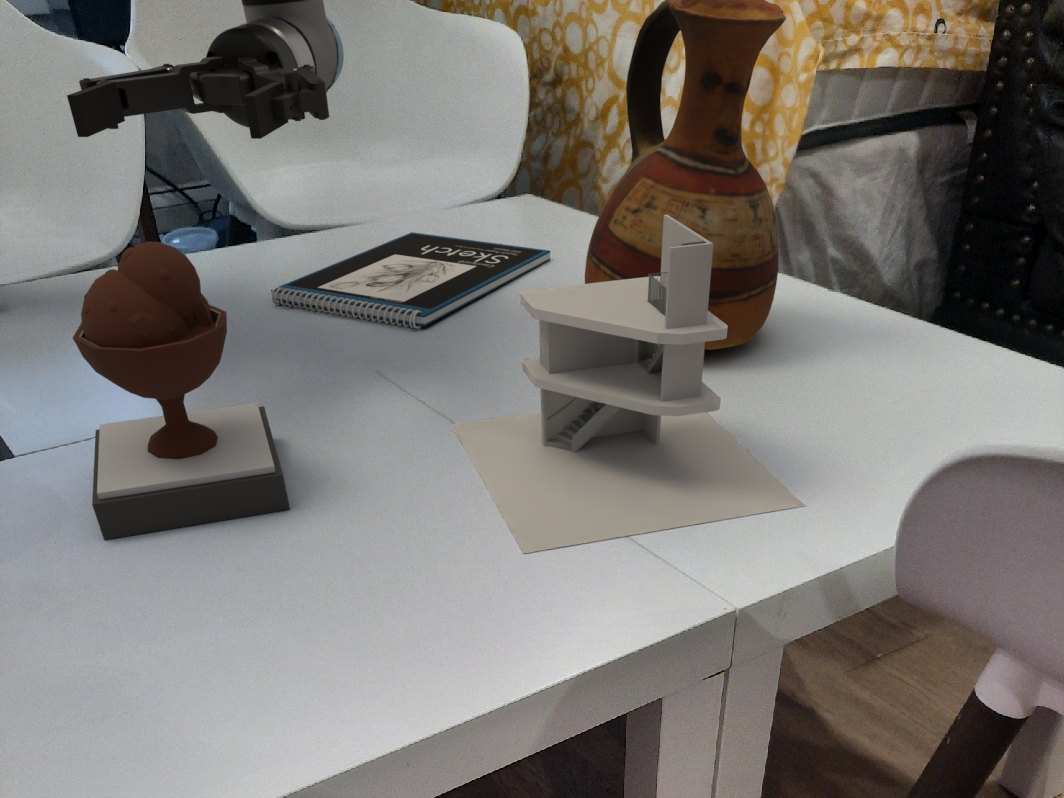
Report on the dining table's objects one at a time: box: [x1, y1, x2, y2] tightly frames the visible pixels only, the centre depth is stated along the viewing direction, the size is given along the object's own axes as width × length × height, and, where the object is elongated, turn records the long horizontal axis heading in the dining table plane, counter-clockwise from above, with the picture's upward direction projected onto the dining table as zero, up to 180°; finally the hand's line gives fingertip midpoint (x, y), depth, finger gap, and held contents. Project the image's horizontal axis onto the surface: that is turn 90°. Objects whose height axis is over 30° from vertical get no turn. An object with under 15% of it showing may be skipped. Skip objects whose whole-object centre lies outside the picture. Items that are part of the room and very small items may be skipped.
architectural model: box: [451, 215, 806, 554], centre depth 79 cm, size 23×24×18 cm
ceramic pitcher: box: [584, 0, 787, 351], centre depth 98 cm, size 20×20×30 cm
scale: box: [91, 402, 291, 541], centre depth 82 cm, size 14×14×4 cm
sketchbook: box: [270, 231, 551, 330], centre depth 123 cm, size 22×30×2 cm
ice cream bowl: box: [72, 241, 228, 459], centre depth 76 cm, size 11×11×15 cm
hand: (163, 117), depth 74 cm, fingers open, 13 cm apart
